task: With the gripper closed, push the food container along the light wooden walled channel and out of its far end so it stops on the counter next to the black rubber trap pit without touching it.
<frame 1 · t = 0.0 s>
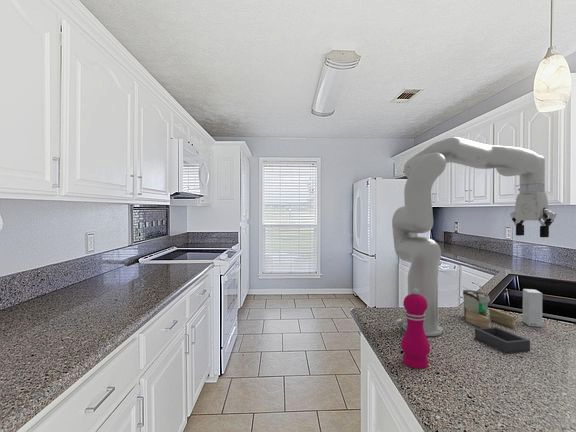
hand: (531, 236, 124), 31 cm above the countertop, tool pointing down, fingers open, 9 cm apart
trap pit: (501, 344, 102), on the countertop
skincare box: (532, 324, 120), on the countertop
wooden channel: (489, 324, 120), on the countertop
pepper mill: (415, 364, 89), on the countertop
food container: (479, 320, 125), on the countertop
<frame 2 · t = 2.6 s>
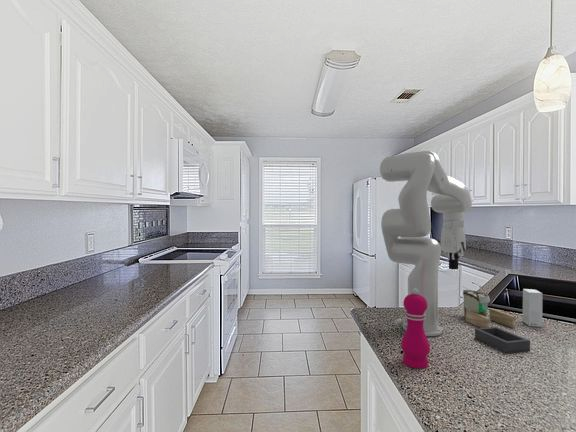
hand: (453, 268, 139), 17 cm above the countertop, tool pointing down, fingers closed
nothing on the countertop moved.
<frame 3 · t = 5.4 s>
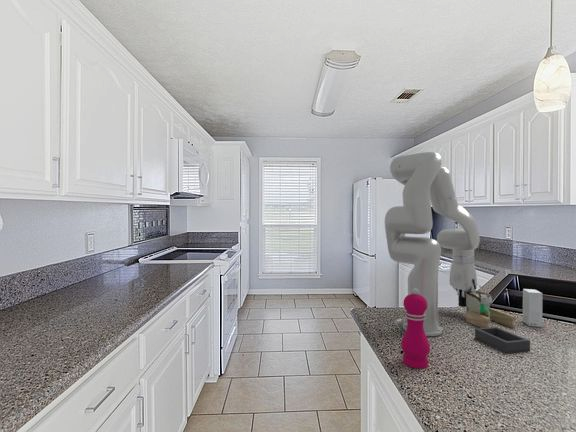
hand: (463, 306, 133), 3 cm above the countertop, tool pointing down, fingers closed
food container: (481, 321, 124), on the countertop, touching gripper
everything else where it was.
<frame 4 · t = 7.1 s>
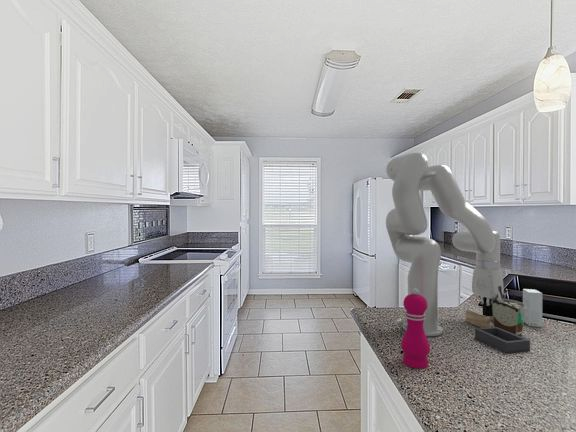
hand: (488, 315, 121), 3 cm above the countertop, tool pointing down, fingers closed
food container: (512, 332, 113), on the countertop, touching gripper
everything else where it was.
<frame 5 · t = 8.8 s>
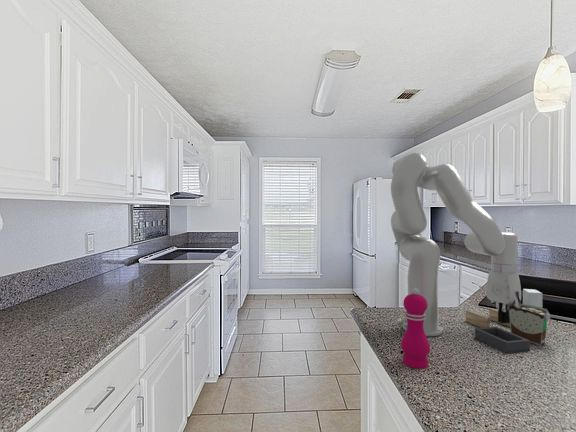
hand: (503, 322, 114), 3 cm above the countertop, tool pointing down, fingers closed
food container: (532, 339, 106), on the countertop, touching gripper
everything else where it was.
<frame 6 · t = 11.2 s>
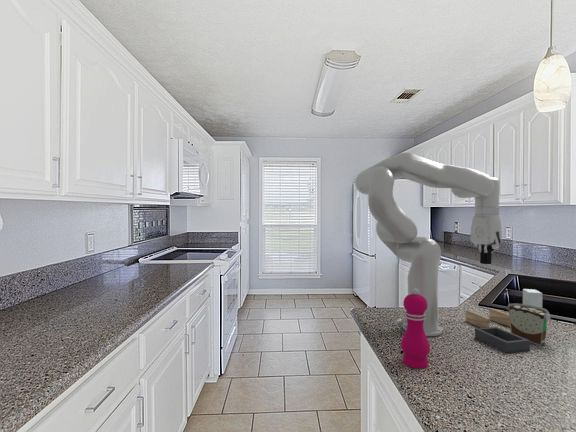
hand: (485, 263, 120), 22 cm above the countertop, tool pointing down, fingers closed
food container: (532, 339, 106), on the countertop
everything else where it was.
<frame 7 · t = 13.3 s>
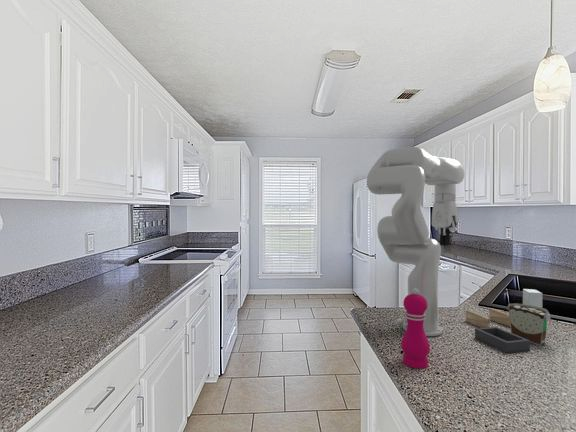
hand: (444, 245, 133), 27 cm above the countertop, tool pointing down, fingers closed
nothing on the countertop moved.
at the end: food container inside the target area (2.2 cm from its centre), on the countertop; food container touching countertop; food container tilted 0° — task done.
